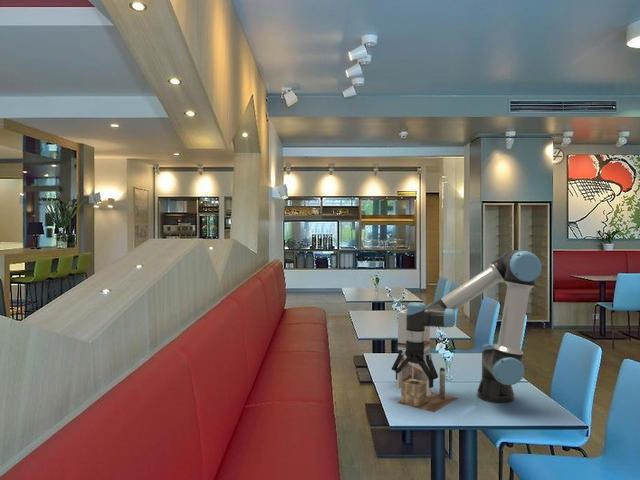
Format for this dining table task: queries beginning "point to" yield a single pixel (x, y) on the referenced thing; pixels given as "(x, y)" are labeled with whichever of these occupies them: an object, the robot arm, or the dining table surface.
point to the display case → (411, 368)
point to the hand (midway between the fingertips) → (413, 391)
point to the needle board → (436, 397)
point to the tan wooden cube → (414, 392)
